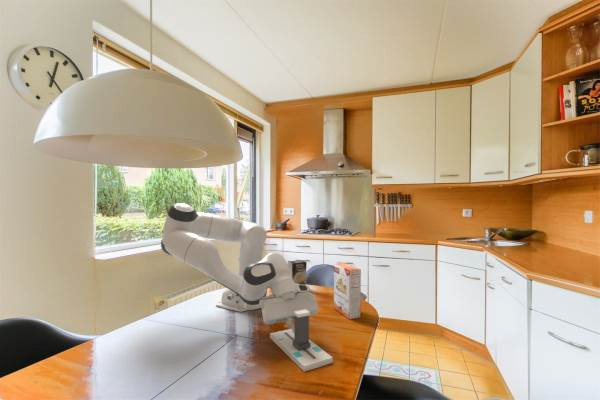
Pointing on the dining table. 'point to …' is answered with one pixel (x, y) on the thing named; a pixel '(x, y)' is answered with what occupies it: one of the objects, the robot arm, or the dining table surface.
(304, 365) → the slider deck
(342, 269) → the cracker box
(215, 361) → the dining table surface
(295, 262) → the coffee box
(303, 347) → the fader tab
